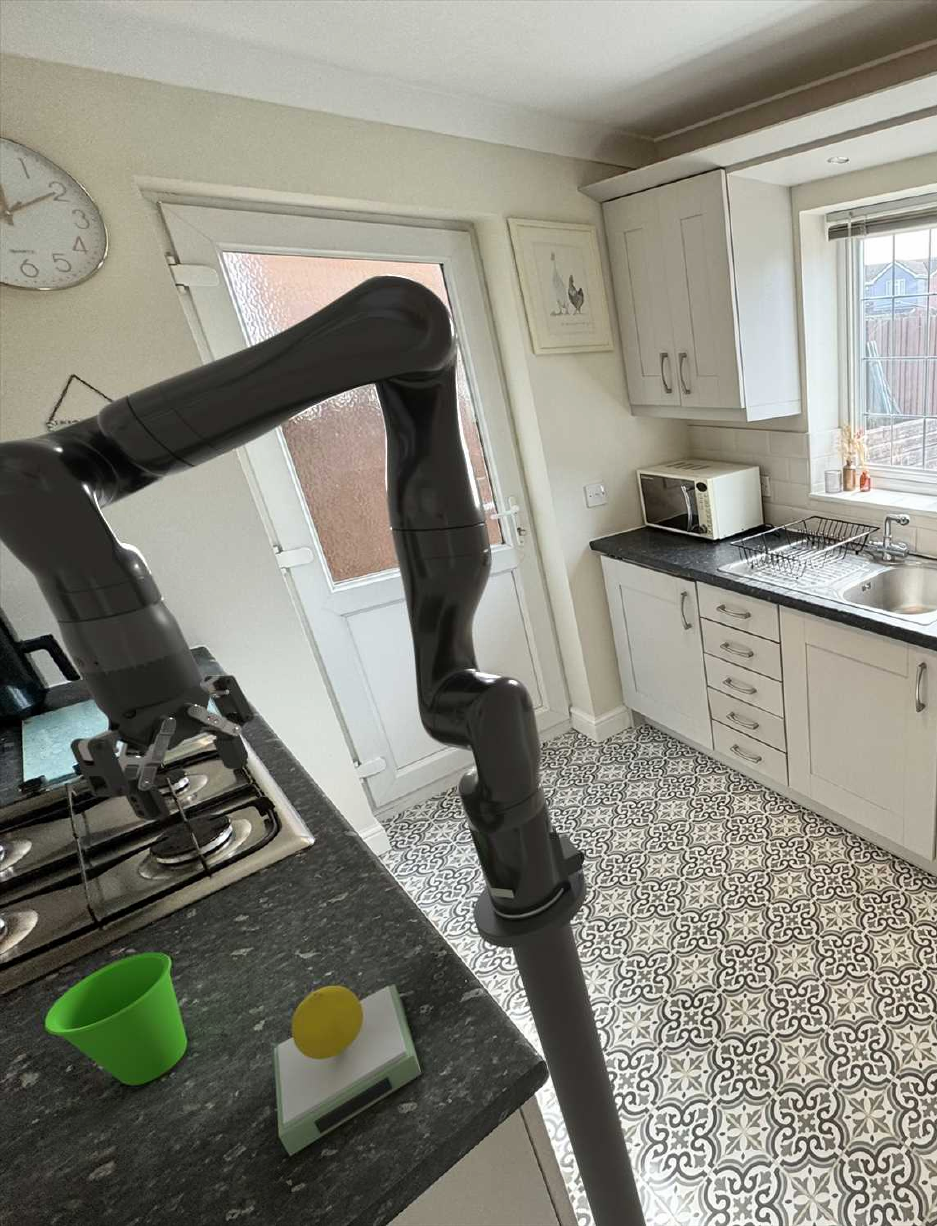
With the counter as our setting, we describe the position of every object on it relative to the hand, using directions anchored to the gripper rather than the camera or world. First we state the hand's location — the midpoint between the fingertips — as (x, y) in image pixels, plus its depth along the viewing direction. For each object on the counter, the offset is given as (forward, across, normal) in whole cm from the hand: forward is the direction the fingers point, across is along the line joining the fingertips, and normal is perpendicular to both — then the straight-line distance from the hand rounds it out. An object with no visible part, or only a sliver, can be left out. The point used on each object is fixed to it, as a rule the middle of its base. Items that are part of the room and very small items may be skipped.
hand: (200, 790), depth 67 cm
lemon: (+25, -10, -16) cm, 31 cm away
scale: (+28, -10, -16) cm, 34 cm away
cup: (+28, -10, +7) cm, 31 cm away
